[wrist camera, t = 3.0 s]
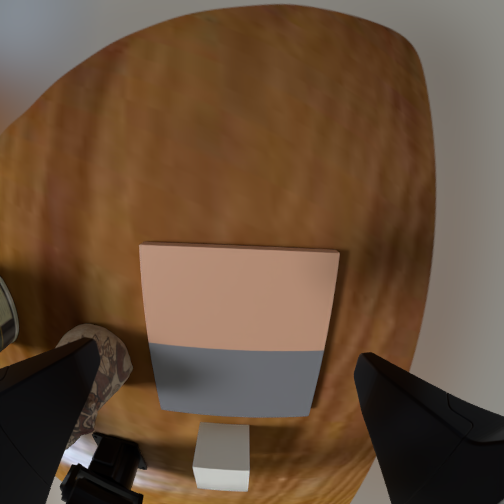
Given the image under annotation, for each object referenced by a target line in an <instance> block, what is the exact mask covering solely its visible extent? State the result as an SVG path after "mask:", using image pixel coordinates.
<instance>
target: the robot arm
mask: <svg viewBox="0 0 504 504" xmlns="http://www.w3.org/2000/svg"><path fill="white" fill-rule="evenodd" d="M100 363H101V358H100V354H99V350H98V346H97V342H96V340H95V339H93V338H88V337H83V338H81V339H78V340H75V341H73V342H70V343H68V344H65V345H62V346H60V347H57V348H55V349H52V350H49V351H47V352H44V353H41V354H39V355H36V356H33V357H31V358H28V359H25V360H23V361H20V362H17V363H15V364H12V365H10V366H6V367H4V368H1V369H0V504H46V501H47V498H48V495H49V491H50V489H51V488H50V487H51V485H52V483H53V480H54V477H55V474H56V472H57V469H58V466H59V464H60V461H61V459H62V456H63V454H64V451H65V449H66V446H67V444H68V442H69V439H70V437H71V435H72V432H73V430H74V428H75V425H76V423H77V421H78V419H79V416H80V414H81V412H82V410H83V408H84V406H85V403H86V401H87V399H88V397H89V394H90V392H91V389H92V386H93V383H94V380H95V377H96V374H97V372H98V369H99V366H100ZM354 380H355V385H356V389H357V393H358V398H359V402H360V407H361V411H362V414H363V418H364V420H365V423H366V426H367V429H368V432H369V435H370V438H371V441H372V444H373V447H374V450H375V453H376V456H377V459H378V462H379V465H380V468H381V471H382V474H383V477H384V481H385V484H386V487H387V491H388V494H389V497H390V501H391V504H504V416H501V415H499V414H496V413H493V412H490V411H488V410H485V409H483V408H480V407H478V406H475V405H473V404H470V403H468V402H466V401H464V400H461V399H459V398H457V397H455V396H453V395H451V394H449V393H446V392H445V391H443V390H442V389H440V388H438V387H436V386H434V385H432V384H430V383H428V382H426V381H424V380H422V379H420V378H418V377H416V376H415V375H413V374H411V373H409V372H407V371H405V370H403V369H402V368H400V367H398V366H396V365H394V364H392V363H390V362H389V361H387V360H385V359H383V358H381V357H379V356H378V355H376V354H374V353H372V352H368V353H361V354H360V355H359V357H358V361H357V364H356V368H355V371H354ZM92 436H93V438H94V440H95V442H96V443H97V445H98V447H97V449H96V451H95V453H94V455H93V457H92V461H91V463H90V465H89V467H88V469H87V468H85V467H83V466H82V465H81V464H79V463H78V464H77V465H73V464H72V466H71V468H70V470H69V472H68V473H67V475H66V477H65V478H64V480H63V482H62V483H61V485H60V489H61V491H62V494H61V495H62V499H61V500H62V501H64V502H66V504H142V502H143V495H142V494H140V493H139V494H138V493H136V492H134V491H131V488H132V485H133V481H134V478H135V475H136V472H137V469H138V468H139V469H143V470H147V465H146V463H145V460H144V458H143V456H142V454H141V451H140V449H139V447H138V445H137V444H135V443H132V442H128V441H124V440H120V439H116V438H112V437H109V436H105V435H102V434H99V433H95V432H93V434H92Z"/></svg>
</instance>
